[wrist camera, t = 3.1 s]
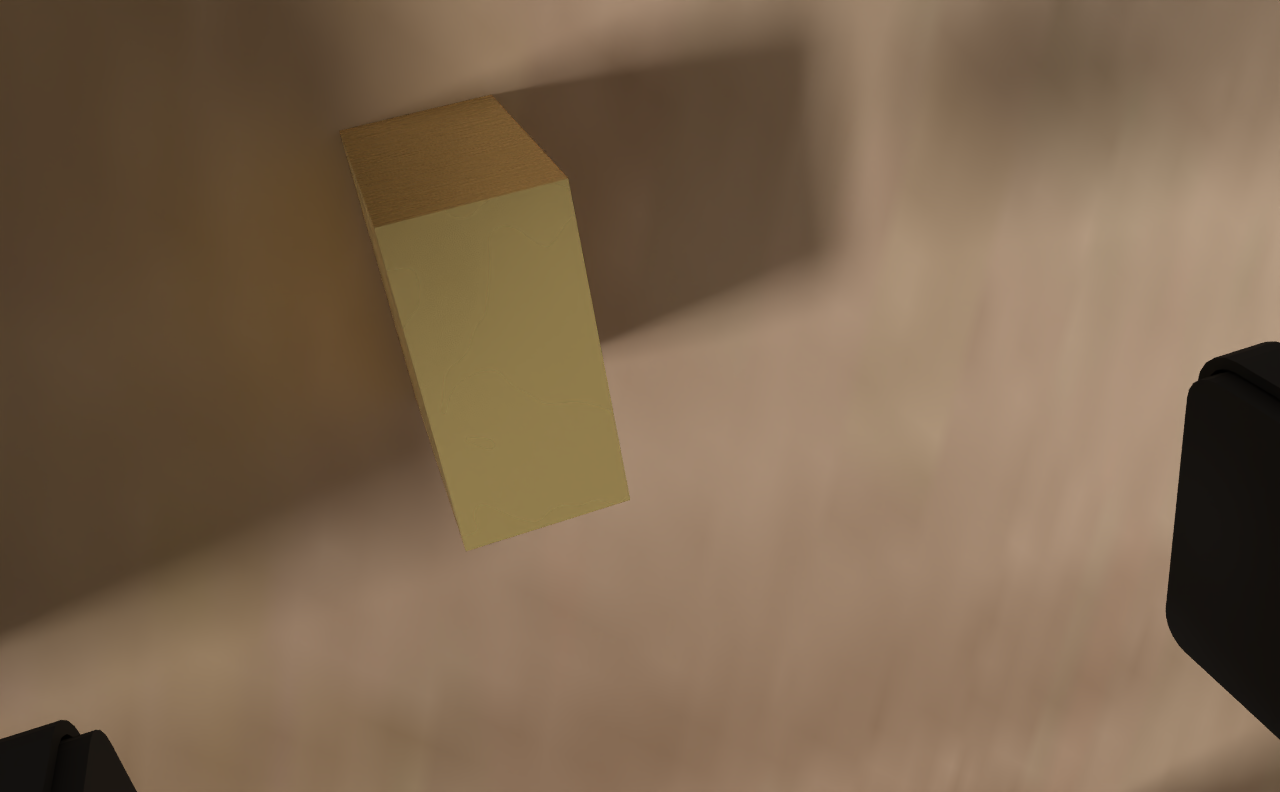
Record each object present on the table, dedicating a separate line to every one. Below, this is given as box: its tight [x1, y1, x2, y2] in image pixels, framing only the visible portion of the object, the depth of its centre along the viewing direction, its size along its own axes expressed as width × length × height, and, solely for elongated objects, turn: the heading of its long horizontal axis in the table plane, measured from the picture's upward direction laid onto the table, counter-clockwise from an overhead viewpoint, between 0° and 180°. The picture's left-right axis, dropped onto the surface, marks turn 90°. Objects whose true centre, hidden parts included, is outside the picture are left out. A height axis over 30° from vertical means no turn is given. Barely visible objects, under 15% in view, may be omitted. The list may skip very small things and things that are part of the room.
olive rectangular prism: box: [339, 95, 630, 551], centre depth 18 cm, size 5×2×5 cm, turn 9°
